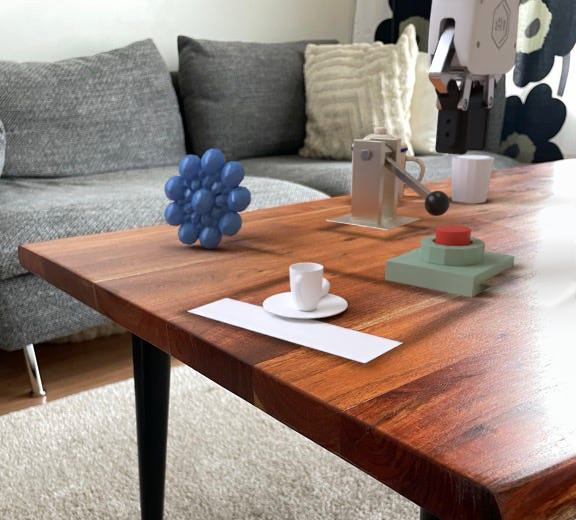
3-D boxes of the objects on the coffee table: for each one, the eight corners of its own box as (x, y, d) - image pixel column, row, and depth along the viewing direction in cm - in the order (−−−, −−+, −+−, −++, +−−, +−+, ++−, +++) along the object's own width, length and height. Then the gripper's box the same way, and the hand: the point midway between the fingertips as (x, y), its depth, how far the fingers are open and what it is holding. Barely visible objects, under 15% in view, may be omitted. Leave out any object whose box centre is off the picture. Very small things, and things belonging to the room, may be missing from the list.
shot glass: (444, 196, 123) (448, 154, 120) (485, 196, 123) (489, 154, 120) (451, 204, 117) (455, 159, 114) (493, 204, 117) (499, 159, 114)
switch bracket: (420, 227, 101) (427, 138, 96) (387, 238, 94) (392, 144, 90) (361, 218, 107) (364, 134, 102) (325, 228, 100) (327, 139, 95)
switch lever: (445, 219, 95) (458, 199, 93) (433, 223, 93) (447, 202, 91) (370, 156, 99) (381, 135, 97) (357, 158, 97) (368, 137, 95)
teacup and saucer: (303, 289, 73) (303, 250, 72) (368, 304, 69) (370, 263, 67) (245, 311, 67) (244, 268, 66) (312, 329, 63) (313, 284, 61)
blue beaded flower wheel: (264, 244, 92) (263, 146, 87) (244, 257, 86) (241, 152, 81) (182, 237, 95) (177, 142, 90) (157, 249, 89) (150, 148, 84)
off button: (475, 244, 76) (477, 227, 75) (460, 250, 74) (461, 233, 73) (444, 239, 78) (446, 223, 77) (428, 245, 76) (430, 228, 75)
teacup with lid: (345, 205, 116) (347, 129, 111) (353, 196, 124) (356, 124, 119) (420, 208, 113) (426, 130, 108) (424, 198, 121) (430, 125, 116)
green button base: (512, 275, 78) (517, 239, 76) (471, 297, 71) (476, 258, 69) (429, 261, 84) (432, 227, 82) (384, 280, 77) (386, 243, 75)
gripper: (479, -80, 56) (457, 163, 64) (555, -56, 68) (528, 146, 76) (396, -70, 61) (385, 156, 68) (481, -49, 72) (463, 142, 80)
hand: (461, 149), depth 72 cm, fingers open, 3 cm apart
